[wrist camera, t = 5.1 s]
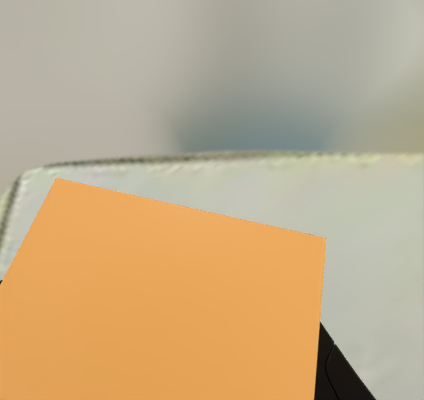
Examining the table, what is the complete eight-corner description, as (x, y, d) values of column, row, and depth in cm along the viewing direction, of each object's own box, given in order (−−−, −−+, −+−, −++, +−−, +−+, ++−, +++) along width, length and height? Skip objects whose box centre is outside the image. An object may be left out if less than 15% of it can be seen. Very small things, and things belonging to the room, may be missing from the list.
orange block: (240, 319, 12) (309, 537, 2) (165, 298, 13) (-57, 385, 3) (249, 265, 13) (330, 235, 3) (179, 247, 14) (55, 174, 4)
